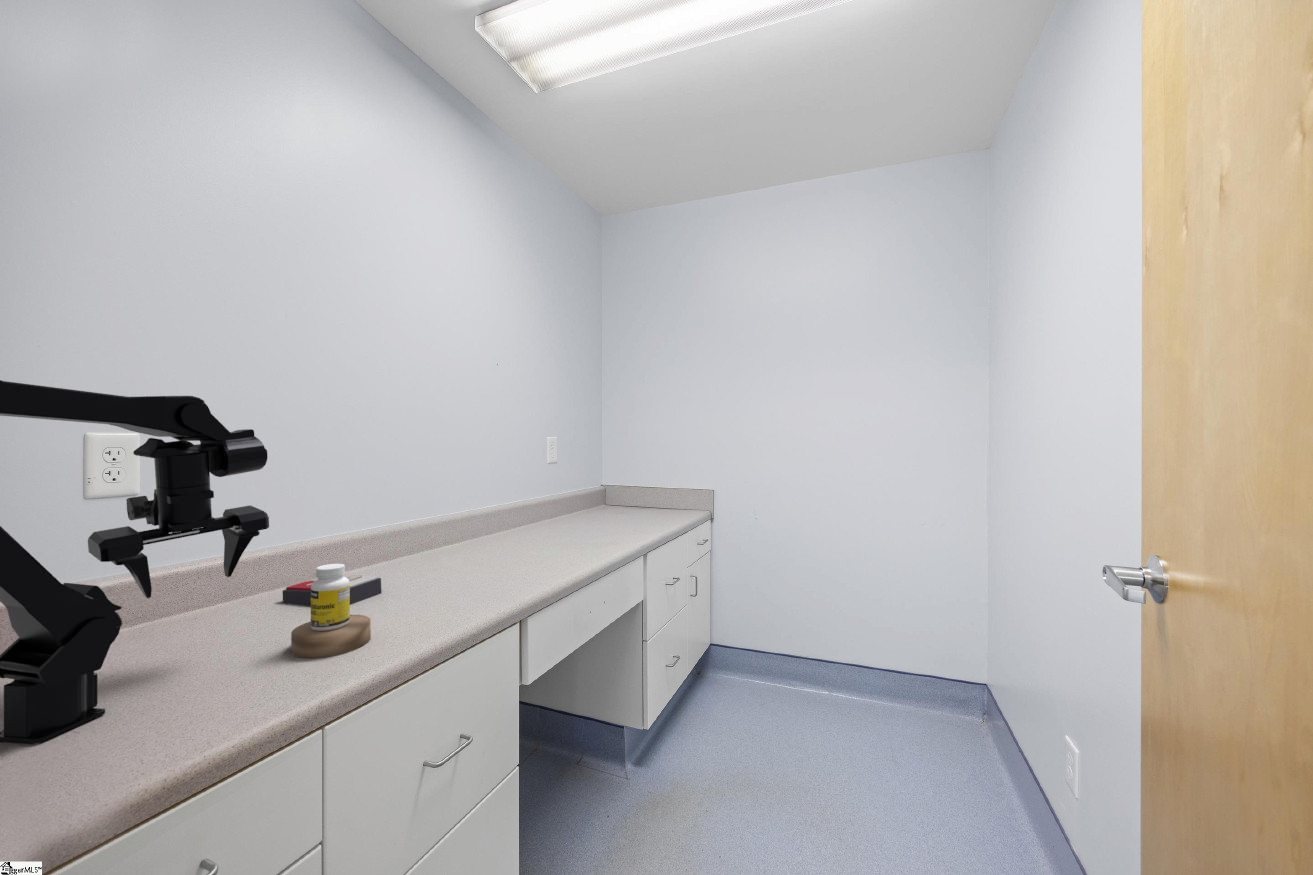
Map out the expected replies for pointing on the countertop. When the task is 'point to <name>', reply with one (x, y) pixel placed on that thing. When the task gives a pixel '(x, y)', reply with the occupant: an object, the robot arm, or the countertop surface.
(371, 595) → the red and grey box
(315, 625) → the supplement bottle
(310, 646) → the pedestal
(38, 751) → the countertop surface
